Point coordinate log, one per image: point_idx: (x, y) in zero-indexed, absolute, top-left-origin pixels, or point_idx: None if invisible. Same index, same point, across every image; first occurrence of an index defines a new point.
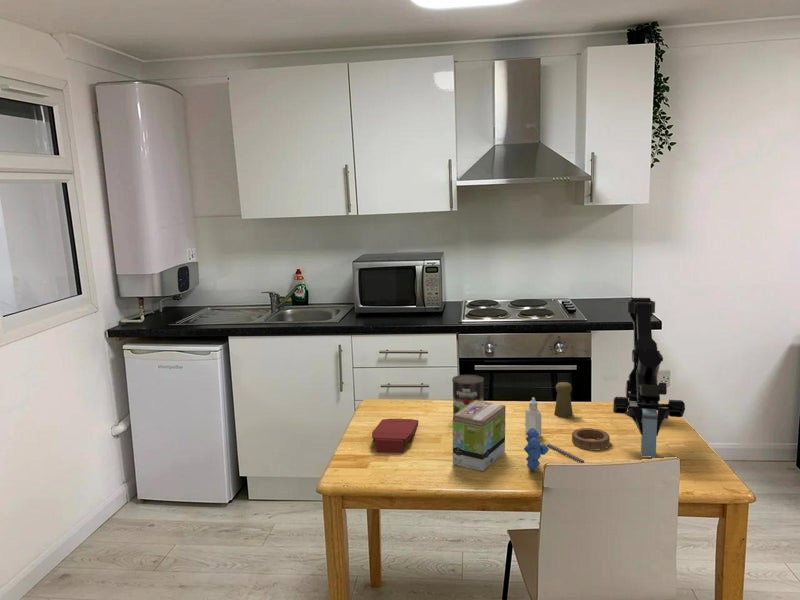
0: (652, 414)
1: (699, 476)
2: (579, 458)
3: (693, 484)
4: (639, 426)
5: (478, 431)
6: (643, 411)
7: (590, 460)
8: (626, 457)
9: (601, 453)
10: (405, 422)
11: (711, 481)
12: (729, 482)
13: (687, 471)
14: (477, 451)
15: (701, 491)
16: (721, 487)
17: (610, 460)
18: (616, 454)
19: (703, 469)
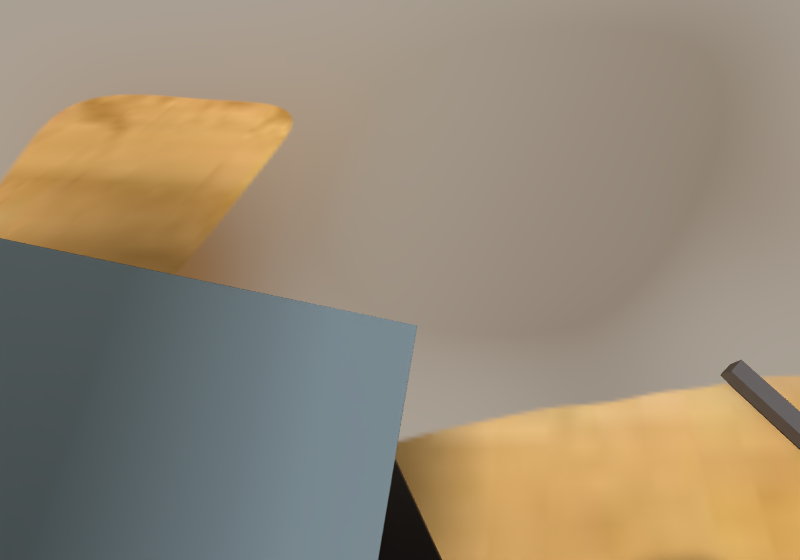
0: (148, 288)
1: (150, 214)
2: (766, 402)
3: (234, 157)
4: (415, 506)
5: None
6: (371, 492)
7: (694, 407)
8: (476, 462)
9: (649, 539)
10: None
11: (130, 173)
12: (49, 161)
13: (175, 263)
14: None
15: (237, 116)
16: (128, 132)
17: (579, 409)
18: (542, 521)
19: None
